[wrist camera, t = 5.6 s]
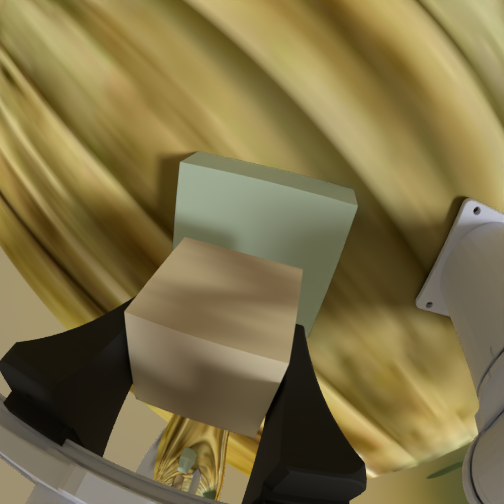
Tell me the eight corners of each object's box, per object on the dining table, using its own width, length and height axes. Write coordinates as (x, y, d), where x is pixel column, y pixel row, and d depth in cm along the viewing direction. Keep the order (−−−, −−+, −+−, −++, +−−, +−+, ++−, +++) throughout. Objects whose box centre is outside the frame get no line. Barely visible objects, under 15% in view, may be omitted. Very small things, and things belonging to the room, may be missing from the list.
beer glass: (170, 390, 30) (112, 513, 17) (193, 359, 27) (123, 511, 14) (229, 419, 31) (187, 544, 18) (261, 393, 27) (219, 547, 14)
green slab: (352, 187, 17) (357, 206, 15) (310, 308, 22) (307, 338, 19) (200, 149, 18) (180, 161, 16) (187, 274, 23) (170, 299, 20)
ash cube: (302, 269, 13) (288, 363, 9) (274, 351, 15) (254, 437, 11) (184, 237, 13) (124, 311, 9) (178, 322, 16) (136, 398, 11)
